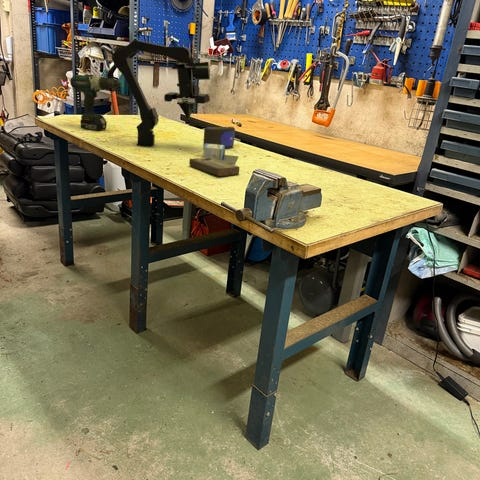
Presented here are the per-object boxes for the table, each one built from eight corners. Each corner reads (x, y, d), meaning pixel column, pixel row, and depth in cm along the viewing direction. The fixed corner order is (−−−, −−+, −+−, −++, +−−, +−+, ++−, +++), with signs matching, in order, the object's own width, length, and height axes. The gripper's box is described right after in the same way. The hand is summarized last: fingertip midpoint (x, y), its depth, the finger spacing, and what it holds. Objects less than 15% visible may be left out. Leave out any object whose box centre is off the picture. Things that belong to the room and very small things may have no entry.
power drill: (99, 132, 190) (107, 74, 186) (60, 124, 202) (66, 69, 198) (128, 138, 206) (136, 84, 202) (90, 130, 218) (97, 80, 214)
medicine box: (203, 143, 180) (224, 144, 181) (203, 153, 182) (223, 155, 183) (203, 147, 173) (225, 148, 174) (203, 158, 175) (224, 159, 176)
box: (217, 177, 150) (218, 168, 149) (188, 166, 162) (188, 158, 161) (240, 175, 157) (240, 166, 156) (210, 164, 169) (210, 156, 168)
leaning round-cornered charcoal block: (207, 150, 190) (209, 128, 186) (202, 147, 194) (203, 126, 190) (237, 148, 199) (239, 128, 195) (231, 146, 203) (233, 126, 199)
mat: (202, 160, 172) (202, 159, 172) (208, 153, 184) (208, 152, 184) (234, 164, 171) (234, 163, 171) (238, 157, 184) (238, 156, 184)
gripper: (214, 77, 179) (216, 115, 187) (174, 76, 185) (178, 112, 193) (202, 82, 170) (205, 121, 178) (161, 80, 176) (165, 118, 184)
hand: (188, 118), depth 184 cm, fingers closed
